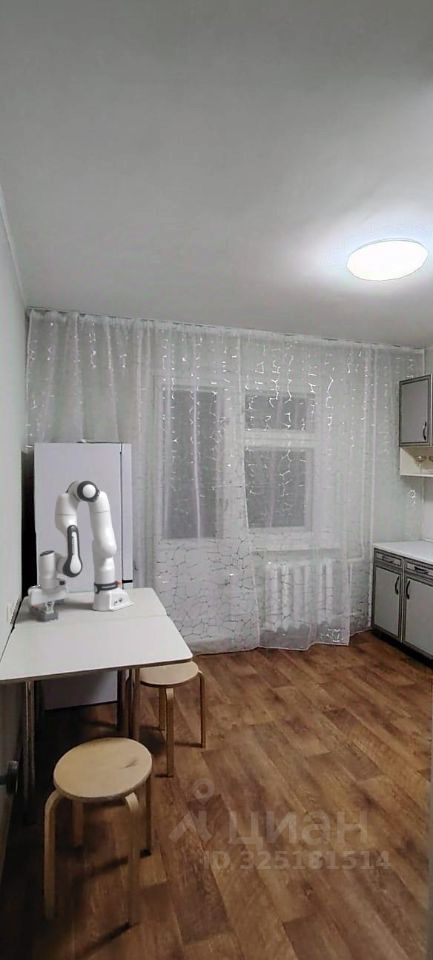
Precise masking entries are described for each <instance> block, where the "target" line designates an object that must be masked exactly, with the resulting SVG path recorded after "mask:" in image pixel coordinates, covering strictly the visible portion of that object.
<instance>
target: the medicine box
mask: <svg viewBox="0 0 433 960" xmlns="http://www.w3.org/2000/svg"><path fill="white" fill-rule="evenodd" d="M48 603H51V602H48ZM62 603H63V604H64V603H65V598H64V599H60V600H55V603H54V605H56V604H60V605H62Z"/></svg>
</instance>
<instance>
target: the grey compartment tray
mask: <svg viewBox="0 0 433 960" xmlns="http://www.w3.org/2000/svg"><path fill="white" fill-rule="evenodd" d="M41 605H43V603H42V604H41ZM53 611H54V613H51V614H47V615H45V614H43V611H42V612H39V611H38V609H33V606H32V605H30V606H28V614H29V613H30V614H29V615H31V616H33V617H34V618H36V619H38V618H39V619H38V620H40V621H42V622H44V623H47V622H46V621H48V622H51V621H50V620H52V621H56V620H59V612H58V611H56V610H54V609H53ZM55 619H56V620H55Z"/></svg>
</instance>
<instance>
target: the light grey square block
mask: <svg viewBox="0 0 433 960" xmlns="http://www.w3.org/2000/svg"><path fill="white" fill-rule="evenodd" d="M47 606H49V604H47ZM45 610H46V607H45V606H44V604H42V605H39V606H38V611H39V612H42V611H45Z"/></svg>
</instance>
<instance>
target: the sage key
mask: <svg viewBox="0 0 433 960" xmlns="http://www.w3.org/2000/svg"><path fill="white" fill-rule="evenodd" d="M53 610H54V609H53ZM53 610H49V611H46V610H45V611H43V614H45V615H47V614H51V613H54V611H53Z"/></svg>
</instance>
